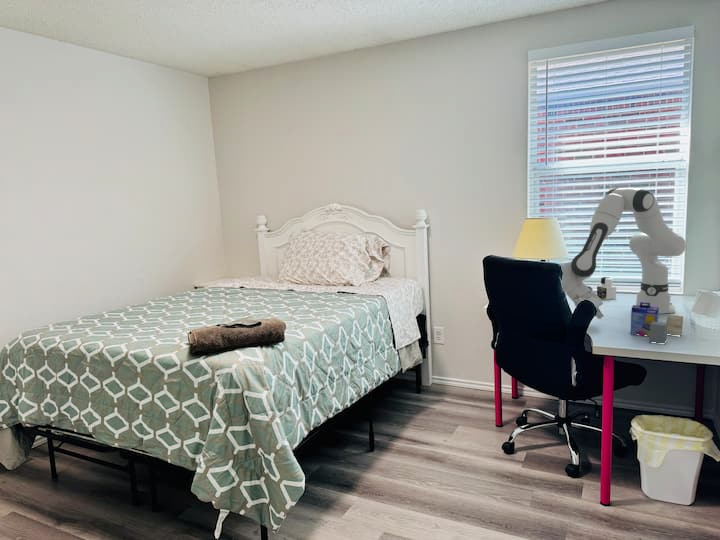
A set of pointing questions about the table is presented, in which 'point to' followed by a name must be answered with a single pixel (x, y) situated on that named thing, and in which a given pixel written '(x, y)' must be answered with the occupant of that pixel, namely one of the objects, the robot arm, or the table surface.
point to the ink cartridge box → (643, 318)
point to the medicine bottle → (606, 289)
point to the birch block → (674, 324)
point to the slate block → (658, 332)
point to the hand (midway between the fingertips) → (601, 317)
